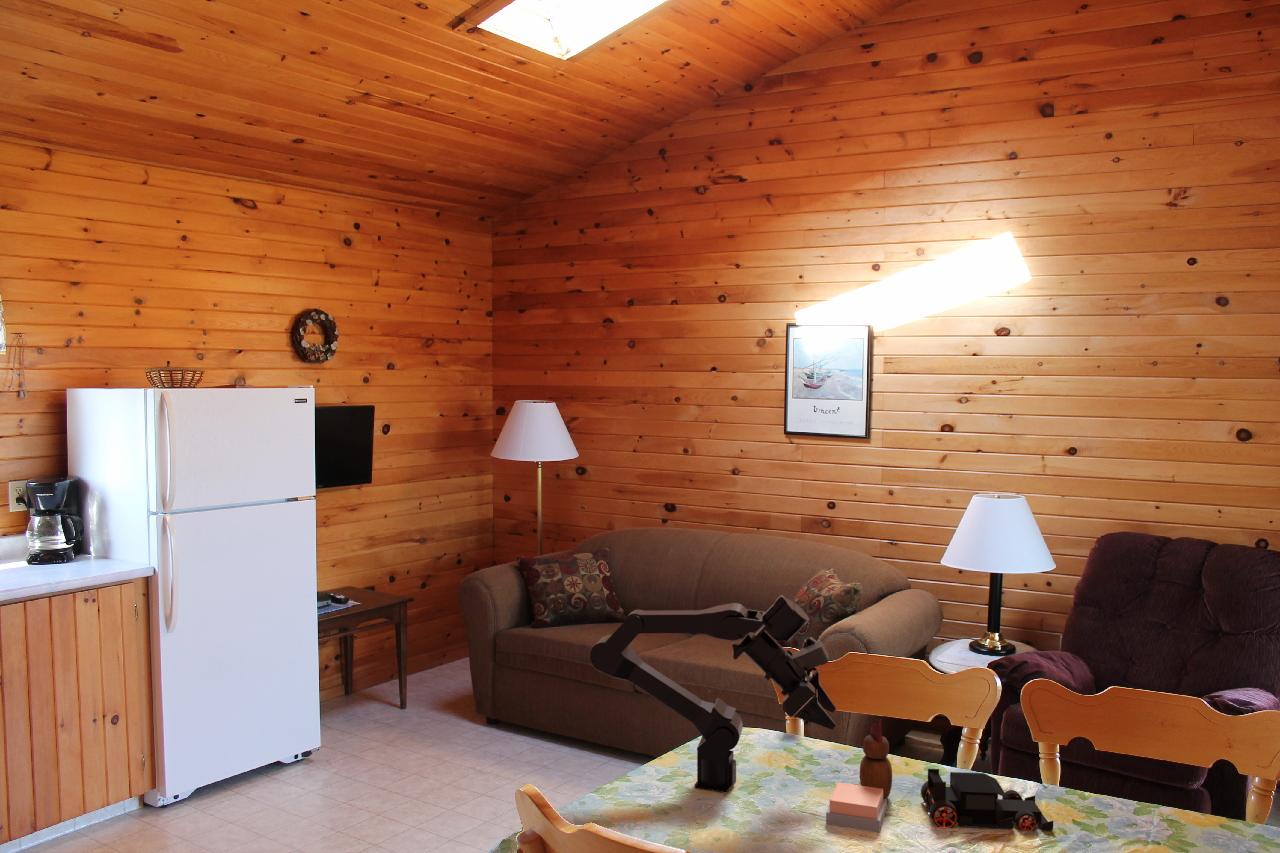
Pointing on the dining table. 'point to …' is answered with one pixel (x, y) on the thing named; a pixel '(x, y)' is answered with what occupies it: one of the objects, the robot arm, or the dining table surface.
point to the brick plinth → (856, 820)
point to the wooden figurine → (876, 761)
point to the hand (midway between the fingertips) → (834, 718)
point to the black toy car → (978, 803)
